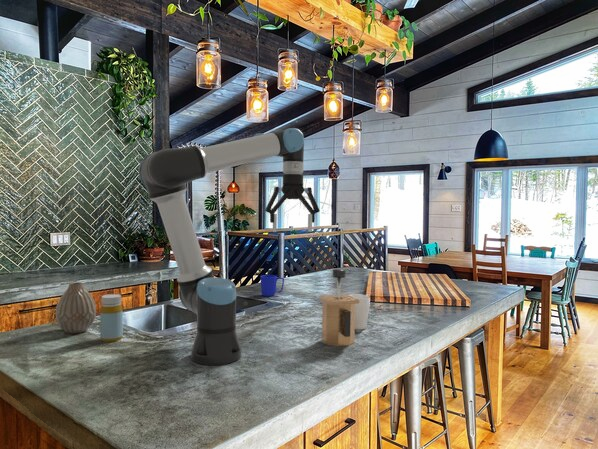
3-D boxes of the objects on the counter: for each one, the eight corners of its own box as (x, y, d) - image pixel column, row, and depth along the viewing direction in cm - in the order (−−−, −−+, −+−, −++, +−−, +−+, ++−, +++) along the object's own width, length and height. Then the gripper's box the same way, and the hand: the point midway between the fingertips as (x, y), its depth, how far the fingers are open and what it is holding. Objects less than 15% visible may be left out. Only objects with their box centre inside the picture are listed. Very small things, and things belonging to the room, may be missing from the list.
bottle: (117, 335, 157) (117, 293, 156) (126, 339, 152) (125, 296, 151) (97, 339, 152) (96, 295, 151) (105, 343, 147) (104, 299, 146)
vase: (50, 331, 161) (49, 283, 160) (87, 324, 170) (87, 278, 169) (63, 338, 152) (63, 288, 151) (102, 331, 161) (101, 283, 161)
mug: (283, 297, 223) (283, 277, 222) (259, 297, 223) (259, 277, 222) (284, 294, 231) (284, 275, 230) (261, 293, 231) (261, 274, 231)
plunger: (332, 332, 148) (333, 271, 147) (323, 326, 155) (324, 268, 154) (353, 330, 150) (354, 271, 149) (343, 324, 157) (344, 267, 156)
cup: (368, 331, 165) (369, 299, 164) (344, 329, 167) (345, 298, 166) (369, 324, 174) (370, 294, 173) (346, 323, 176) (347, 293, 175)
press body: (332, 349, 144) (333, 303, 143) (318, 338, 156) (319, 295, 155) (361, 347, 147) (362, 302, 146) (345, 335, 159) (346, 294, 159)
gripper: (261, 172, 156) (261, 232, 157) (328, 174, 163) (327, 232, 164) (257, 173, 163) (257, 231, 164) (321, 175, 170) (320, 230, 171)
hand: (292, 231), depth 164 cm, fingers open, 13 cm apart
